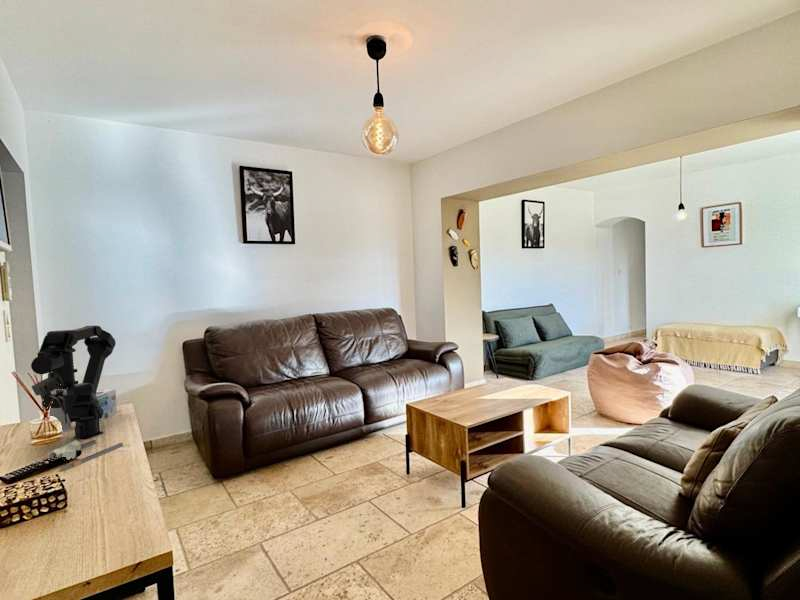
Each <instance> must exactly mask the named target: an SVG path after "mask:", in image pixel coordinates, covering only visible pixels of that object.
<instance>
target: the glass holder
mask: <svg viewBox="0 0 800 600" xmlns="http://www.w3.org/2000/svg"><path fill="white" fill-rule="evenodd" d="M50 394H51V392H50V393H49V394H47V395H45V396H43V399H44V403H45V404H43V401H42V400H41V409H42V408H44V407H45V408H47V407H48V406H49V404H50V402H51V401H52V399H53V397H51V396H49V395H50ZM49 413H50V416H54V417H56V418H57V419H58V420H59V421H60V422H61V425H62V430H63V434H65V433H68V432H71V431H72V430H73V427H72V423H73V422H70V419H69V416H68V414H64V412H63V410H62V408H61V407H60V405H59V403H58V401H57V400H56V399H55V398H54V399H53V403H52V404H51V408H50V412H49Z"/></svg>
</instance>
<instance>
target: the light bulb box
mask: <svg viewBox="0 0 800 600" xmlns="http://www.w3.org/2000/svg"><path fill="white" fill-rule="evenodd" d="M116 391H117V390H116V388H113V389H112V388H110V389H108V388H107V389H106V388H105V389H98V390H97V391H96V397H97V399H98V401H99V404H98V405H99V406H100V407H101V408H102V409H103V410H104V414H103V417H102V418H101V419H99V422H101V421H100V420H102V419H104V420H106V419H108V418H110V417H109V416H111V417H112V415H113V416H114V414H115V415H117V414H118V408H117V407H118V406H117V394H116V393H117V392H116ZM116 413H117V414H116ZM107 417H108V418H107ZM105 418H106V419H105ZM102 421H103V420H102Z"/></svg>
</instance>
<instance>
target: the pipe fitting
mask: <svg viewBox="0 0 800 600" xmlns="http://www.w3.org/2000/svg"><path fill="white" fill-rule="evenodd" d="M81 445H82V444H81V443H80V441H78V440H76V439H75V440H73V441H70V442H68V443H66V444H65V445H63V446H60V447H58V448H56V449H55V448H54V449H53V450H51V451H49V452H48V454H47V457H48V459H50V458H52V457H54V456H57V458H58V457H61V456H62V457H66V459H67V460H69V461H71V460H70V459H71V458H72V459H73V460H74V459H75V458H76V456H77V451H76V450H78V451H79V450H81V449H80V448H81Z"/></svg>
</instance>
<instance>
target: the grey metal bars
mask: <svg viewBox="0 0 800 600" xmlns="http://www.w3.org/2000/svg"><path fill="white" fill-rule="evenodd" d="M95 444H97V440H96V439H93V440H90V441H88V442H85V443H82V444H81V448H80V450H82V449H85V448H88V447H90V446H92V445H95ZM123 446H124V443H123V442H119V443H117V444H114V445H112V446H109V447H107V448H104V449H101V450H100V451H97V452H95V453H92V454H91V455H88V456H85V457H83V458H81V459H75V460H74V459H73V460H71V461H69V464H67V465H65V466H62V467H59V472H65V471H67V470H70V469H72V468H76V467H77V466H80V465H82V464H83V463H87V462H89V461H91V460H93V459H96V458H99V457H100V456H102V455H105V454H108V453H110V452H113V451H115V450H117V449H119V448H122V447H123ZM47 459H48V456H45V457H43V458H41V460H39V461H36V462H35V463H32V464H31V465H33V464H36V463H39V462H41V461H44V460H47Z"/></svg>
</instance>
